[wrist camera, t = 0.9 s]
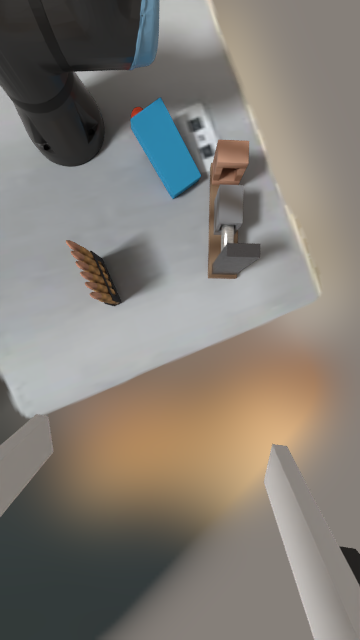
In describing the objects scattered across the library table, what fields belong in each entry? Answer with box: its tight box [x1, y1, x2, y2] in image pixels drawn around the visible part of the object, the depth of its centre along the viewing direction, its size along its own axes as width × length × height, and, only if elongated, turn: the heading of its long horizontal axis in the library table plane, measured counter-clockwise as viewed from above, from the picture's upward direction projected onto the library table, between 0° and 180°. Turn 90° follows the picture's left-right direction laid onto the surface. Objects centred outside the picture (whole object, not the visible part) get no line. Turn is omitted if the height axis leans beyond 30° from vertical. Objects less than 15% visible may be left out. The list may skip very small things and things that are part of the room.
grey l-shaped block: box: [212, 224, 260, 275], centre depth 33 cm, size 16×5×12 cm, turn 179°
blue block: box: [130, 97, 201, 199], centre depth 38 cm, size 7×7×18 cm
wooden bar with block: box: [208, 140, 249, 279], centre depth 37 cm, size 24×6×7 cm, turn 179°
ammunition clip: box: [66, 240, 122, 306], centre depth 34 cm, size 11×2×12 cm, turn 24°
